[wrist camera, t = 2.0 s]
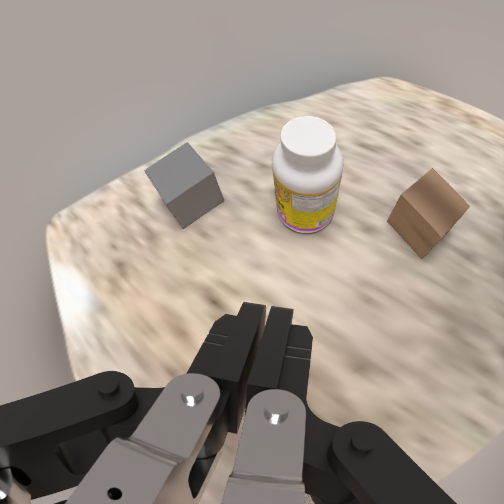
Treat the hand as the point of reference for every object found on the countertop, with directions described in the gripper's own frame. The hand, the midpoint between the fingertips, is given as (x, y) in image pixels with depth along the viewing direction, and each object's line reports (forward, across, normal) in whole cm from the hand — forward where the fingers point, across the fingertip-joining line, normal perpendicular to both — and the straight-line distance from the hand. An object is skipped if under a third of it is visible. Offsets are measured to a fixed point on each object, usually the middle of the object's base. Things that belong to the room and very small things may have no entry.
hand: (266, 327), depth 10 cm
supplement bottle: (+28, 0, +4) cm, 28 cm away
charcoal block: (+28, +14, +4) cm, 31 cm away
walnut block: (+28, -14, +4) cm, 31 cm away
